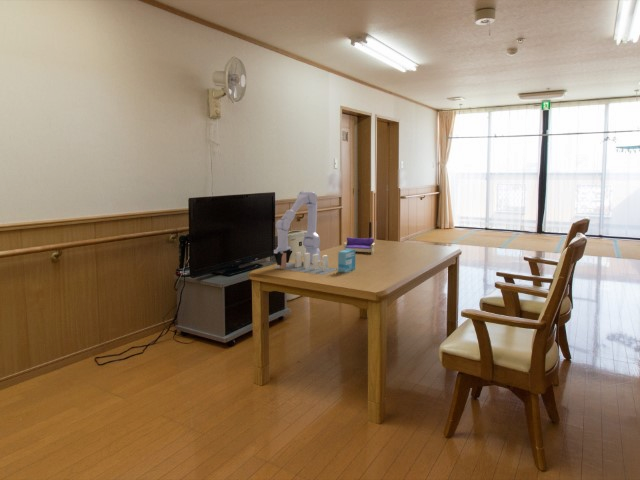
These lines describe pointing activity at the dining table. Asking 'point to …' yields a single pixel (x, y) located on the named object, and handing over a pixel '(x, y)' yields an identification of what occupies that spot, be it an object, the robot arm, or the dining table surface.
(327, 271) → the mat
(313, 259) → the tile
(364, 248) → the toy sofa
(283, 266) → the tile
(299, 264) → the beige rectangular block
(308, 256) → the tile
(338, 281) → the dining table surface
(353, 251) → the data package
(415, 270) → the dining table surface
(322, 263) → the tile
